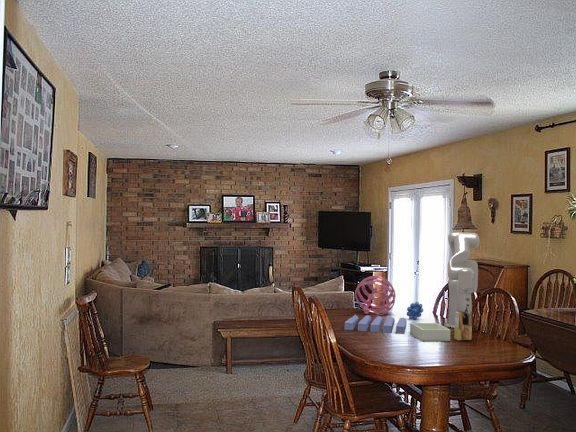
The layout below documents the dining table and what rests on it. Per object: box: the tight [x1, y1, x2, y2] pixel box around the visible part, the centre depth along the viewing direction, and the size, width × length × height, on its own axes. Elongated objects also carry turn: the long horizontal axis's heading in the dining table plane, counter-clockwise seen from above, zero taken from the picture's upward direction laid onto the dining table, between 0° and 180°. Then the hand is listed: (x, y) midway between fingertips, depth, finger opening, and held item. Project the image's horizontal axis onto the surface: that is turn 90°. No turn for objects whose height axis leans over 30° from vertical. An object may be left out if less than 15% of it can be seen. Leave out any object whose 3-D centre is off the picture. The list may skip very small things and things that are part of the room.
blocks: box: [344, 313, 407, 335], centre depth 348 cm, size 35×34×5 cm
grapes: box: [406, 301, 424, 321], centre depth 378 cm, size 12×7×12 cm, turn 99°
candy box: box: [453, 311, 473, 341], centre depth 315 cm, size 9×4×15 cm, turn 110°
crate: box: [409, 322, 451, 343], centre depth 319 cm, size 16×20×6 cm
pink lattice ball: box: [354, 275, 396, 317], centre depth 394 cm, size 28×28×27 cm
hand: (463, 323), depth 315 cm, fingers closed on candy box, 5 cm apart
